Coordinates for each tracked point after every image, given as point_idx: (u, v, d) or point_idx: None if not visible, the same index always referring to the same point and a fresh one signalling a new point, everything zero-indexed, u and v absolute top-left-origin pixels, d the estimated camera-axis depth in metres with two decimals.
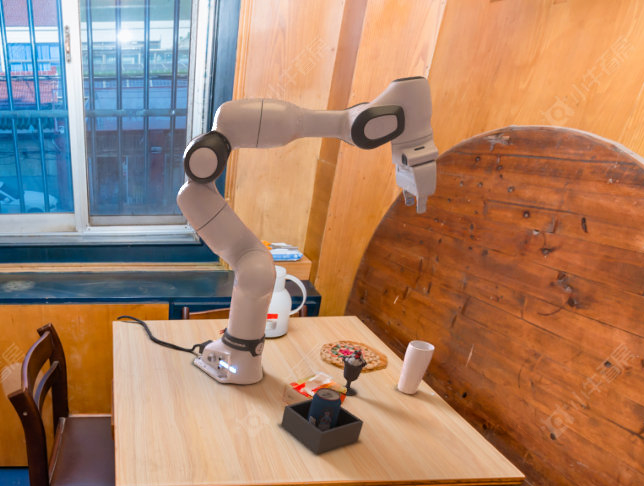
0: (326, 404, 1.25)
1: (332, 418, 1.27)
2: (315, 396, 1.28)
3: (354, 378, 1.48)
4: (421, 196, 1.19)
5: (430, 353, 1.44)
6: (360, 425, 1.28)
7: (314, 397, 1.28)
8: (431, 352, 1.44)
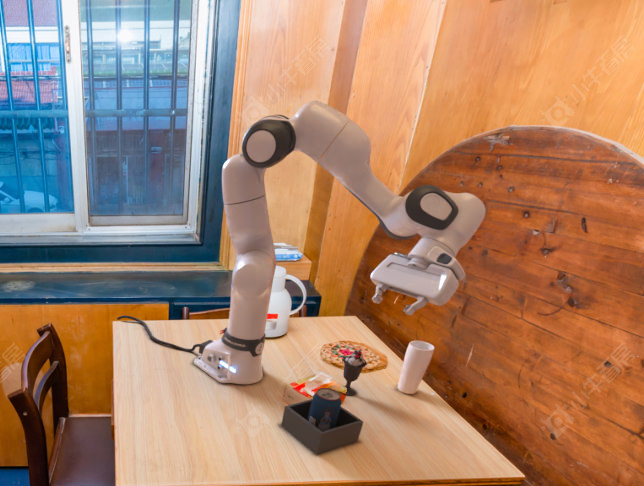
0: (326, 404, 1.25)
1: (332, 418, 1.27)
2: (315, 396, 1.28)
3: (354, 378, 1.48)
4: (438, 299, 1.13)
5: (430, 353, 1.44)
6: (360, 425, 1.28)
7: (314, 397, 1.28)
8: (431, 352, 1.44)
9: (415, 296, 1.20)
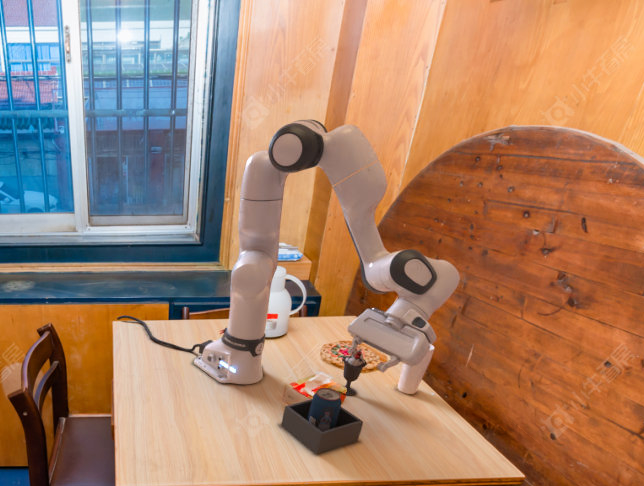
0: (326, 404, 1.25)
1: (332, 418, 1.27)
2: (315, 396, 1.28)
3: (354, 378, 1.48)
4: (410, 360, 1.19)
5: (430, 353, 1.44)
6: (360, 425, 1.28)
7: (314, 397, 1.28)
8: (431, 352, 1.44)
9: (388, 353, 1.25)
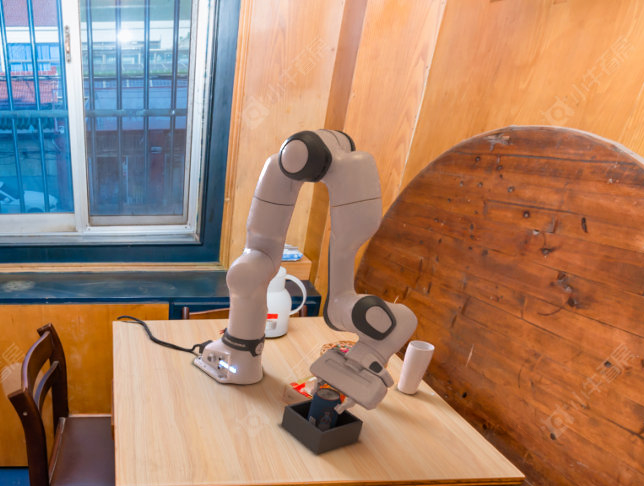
0: (325, 404, 1.25)
1: (332, 418, 1.27)
2: (315, 396, 1.28)
3: None
4: (366, 405, 1.20)
5: (430, 353, 1.44)
6: (360, 425, 1.28)
7: (314, 397, 1.28)
8: (431, 352, 1.44)
9: (348, 396, 1.26)
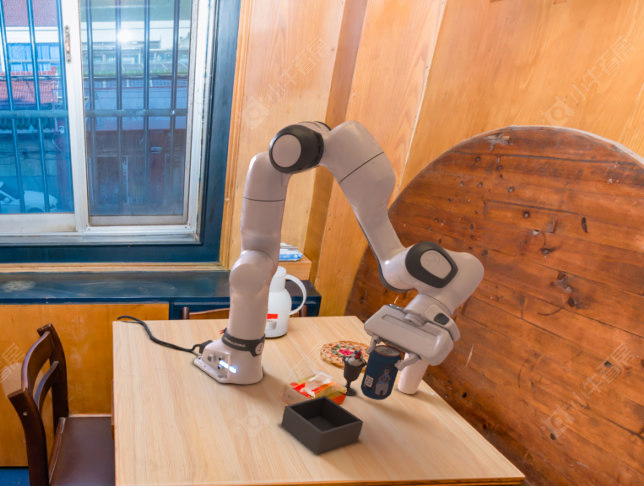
0: (385, 360, 1.17)
1: (392, 376, 1.19)
2: (373, 353, 1.19)
3: (354, 378, 1.48)
4: (432, 359, 1.11)
5: None
6: (360, 425, 1.28)
7: (371, 354, 1.20)
8: None
9: (408, 352, 1.18)
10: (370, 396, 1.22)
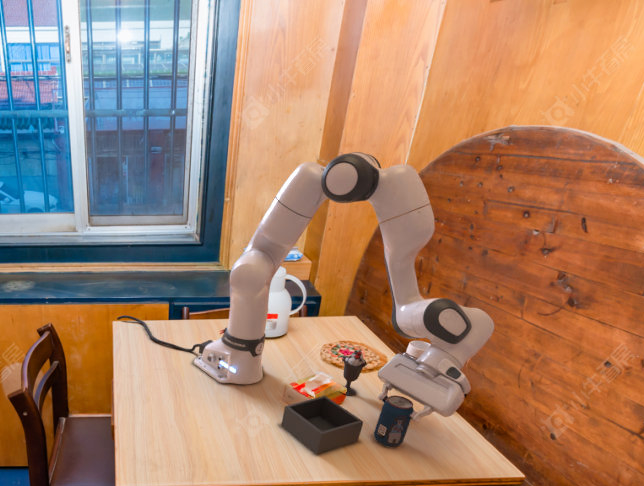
0: (398, 412, 1.23)
1: (404, 426, 1.25)
2: (386, 404, 1.25)
3: (354, 378, 1.48)
4: (444, 412, 1.17)
5: None
6: (360, 425, 1.28)
7: (385, 405, 1.26)
8: None
9: (421, 402, 1.24)
10: (383, 444, 1.28)
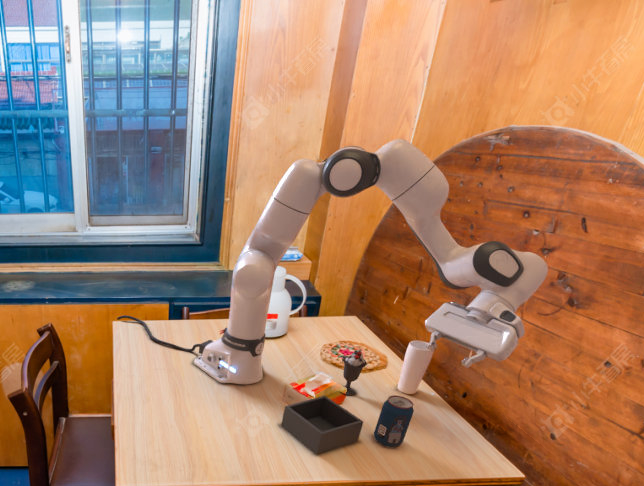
0: (398, 412, 1.23)
1: (404, 426, 1.25)
2: (386, 404, 1.25)
3: (354, 378, 1.48)
4: (499, 355, 1.15)
5: (430, 353, 1.44)
6: (360, 425, 1.28)
7: (385, 405, 1.26)
8: (431, 352, 1.44)
9: (472, 348, 1.22)
10: (383, 444, 1.28)
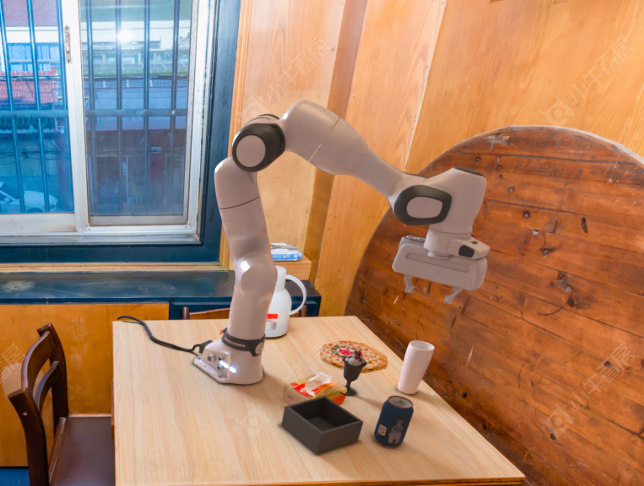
0: (398, 412, 1.23)
1: (404, 426, 1.25)
2: (386, 404, 1.25)
3: (354, 378, 1.48)
4: (474, 289, 1.18)
5: (430, 353, 1.44)
6: (360, 425, 1.28)
7: (385, 405, 1.26)
8: (431, 352, 1.44)
9: None
10: (383, 444, 1.28)
